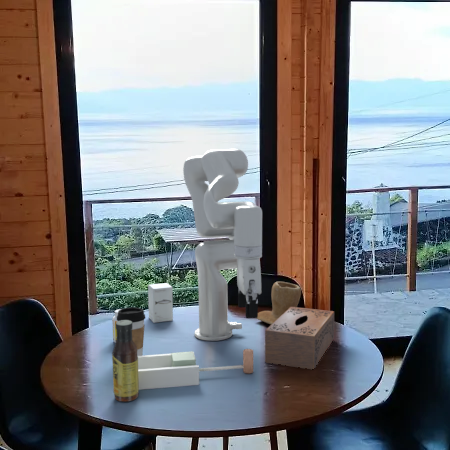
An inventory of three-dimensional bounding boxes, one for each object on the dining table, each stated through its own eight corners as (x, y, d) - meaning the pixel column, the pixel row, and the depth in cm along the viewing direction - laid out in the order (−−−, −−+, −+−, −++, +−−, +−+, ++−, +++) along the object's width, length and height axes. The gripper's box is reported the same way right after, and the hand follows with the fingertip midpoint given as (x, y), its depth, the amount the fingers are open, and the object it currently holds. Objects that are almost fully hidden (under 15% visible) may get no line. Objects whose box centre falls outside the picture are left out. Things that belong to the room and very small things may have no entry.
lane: (194, 368, 162) (193, 348, 161) (199, 384, 151) (198, 363, 151) (129, 373, 159) (128, 353, 158) (130, 390, 148) (129, 368, 147)
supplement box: (153, 323, 204) (152, 288, 202) (148, 317, 210) (147, 284, 209) (173, 321, 206) (172, 286, 205) (168, 315, 213) (167, 282, 211)
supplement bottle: (133, 341, 185) (132, 310, 184) (118, 345, 182) (117, 314, 180) (125, 337, 189) (124, 307, 188) (110, 340, 186) (108, 310, 184)
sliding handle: (250, 366, 162) (250, 346, 162) (255, 375, 157) (255, 354, 156) (171, 373, 159) (171, 352, 158) (173, 381, 153) (173, 360, 152)
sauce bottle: (115, 392, 147) (112, 318, 144) (139, 391, 147) (137, 317, 145) (112, 404, 140) (109, 326, 138) (138, 403, 141) (135, 325, 138)
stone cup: (307, 326, 199) (308, 284, 197) (282, 333, 192) (282, 289, 190) (278, 315, 211) (278, 276, 209) (253, 322, 204) (253, 281, 202)
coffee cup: (123, 365, 165) (121, 315, 163) (114, 356, 172) (112, 308, 170) (150, 360, 169) (149, 311, 167) (141, 351, 176) (139, 304, 174)
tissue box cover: (290, 336, 190) (290, 306, 189) (333, 341, 184) (334, 311, 183) (265, 363, 167) (265, 330, 165) (313, 370, 161) (314, 336, 160)
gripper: (269, 257, 147) (268, 321, 150) (254, 244, 164) (253, 302, 166) (240, 258, 146) (240, 323, 148) (228, 245, 162) (228, 303, 165)
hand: (247, 312), depth 157 cm, fingers open, 9 cm apart
